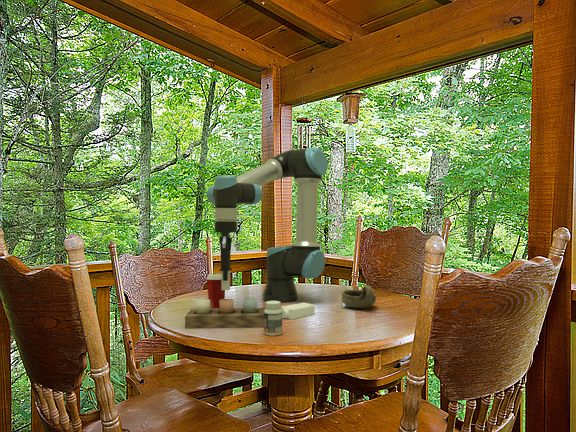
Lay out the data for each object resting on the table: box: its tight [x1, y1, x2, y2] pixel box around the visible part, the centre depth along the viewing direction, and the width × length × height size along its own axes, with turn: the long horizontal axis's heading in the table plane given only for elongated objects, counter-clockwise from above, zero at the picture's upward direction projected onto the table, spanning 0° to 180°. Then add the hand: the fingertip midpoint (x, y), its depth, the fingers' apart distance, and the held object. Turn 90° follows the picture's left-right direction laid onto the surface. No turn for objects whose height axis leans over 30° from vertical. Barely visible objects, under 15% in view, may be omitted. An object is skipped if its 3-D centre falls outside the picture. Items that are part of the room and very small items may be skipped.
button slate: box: [242, 298, 258, 313], centre depth 157 cm, size 5×5×4 cm
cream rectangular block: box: [280, 302, 316, 321], centre depth 167 cm, size 6×13×4 cm, turn 133°
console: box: [184, 307, 266, 329], centre depth 157 cm, size 26×12×4 cm, turn 92°
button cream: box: [195, 298, 210, 314], centre depth 156 cm, size 5×5×4 cm
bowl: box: [341, 285, 377, 309], centre depth 179 cm, size 14×18×10 cm
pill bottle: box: [263, 301, 283, 337], centre depth 143 cm, size 6×6×10 cm
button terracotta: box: [219, 298, 235, 314], centre depth 157 cm, size 5×5×4 cm
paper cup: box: [205, 273, 226, 308], centre depth 176 cm, size 8×8×14 cm
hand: (225, 289), depth 156 cm, fingers closed
